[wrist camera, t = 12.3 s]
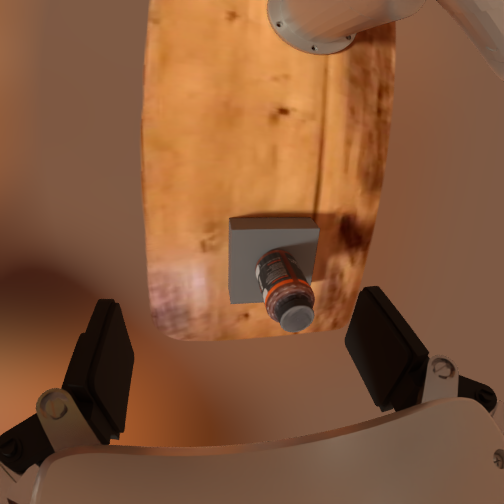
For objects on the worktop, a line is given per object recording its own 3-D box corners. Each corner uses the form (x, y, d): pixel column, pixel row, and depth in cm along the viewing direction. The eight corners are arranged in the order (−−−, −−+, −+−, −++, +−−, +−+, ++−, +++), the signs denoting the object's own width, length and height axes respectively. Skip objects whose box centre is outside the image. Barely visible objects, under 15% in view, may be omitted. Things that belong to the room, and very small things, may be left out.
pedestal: (229, 218, 41) (231, 229, 38) (310, 217, 43) (319, 228, 40) (228, 288, 47) (230, 304, 43) (300, 284, 49) (307, 299, 45)
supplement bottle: (245, 273, 41) (259, 328, 31) (271, 240, 39) (294, 289, 29) (278, 290, 43) (299, 344, 34) (303, 260, 42) (333, 310, 32)
